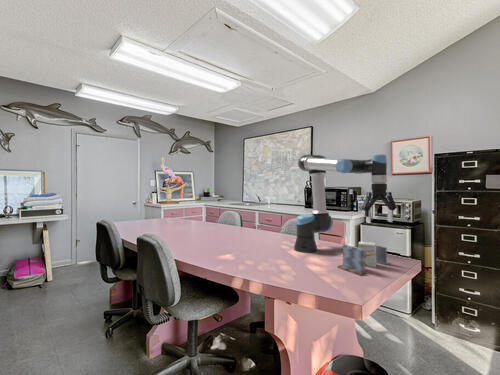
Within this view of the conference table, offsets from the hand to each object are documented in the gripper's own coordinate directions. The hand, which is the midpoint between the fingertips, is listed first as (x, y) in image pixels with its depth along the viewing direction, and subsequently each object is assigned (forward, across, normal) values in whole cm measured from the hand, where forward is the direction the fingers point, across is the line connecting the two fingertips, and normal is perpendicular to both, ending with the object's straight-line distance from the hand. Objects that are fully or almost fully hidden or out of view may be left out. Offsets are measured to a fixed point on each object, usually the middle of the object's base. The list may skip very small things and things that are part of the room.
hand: (379, 222), depth 142 cm
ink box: (+22, -9, -2) cm, 24 cm away
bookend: (+22, 0, +1) cm, 22 cm away
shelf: (+23, -10, -2) cm, 25 cm away
